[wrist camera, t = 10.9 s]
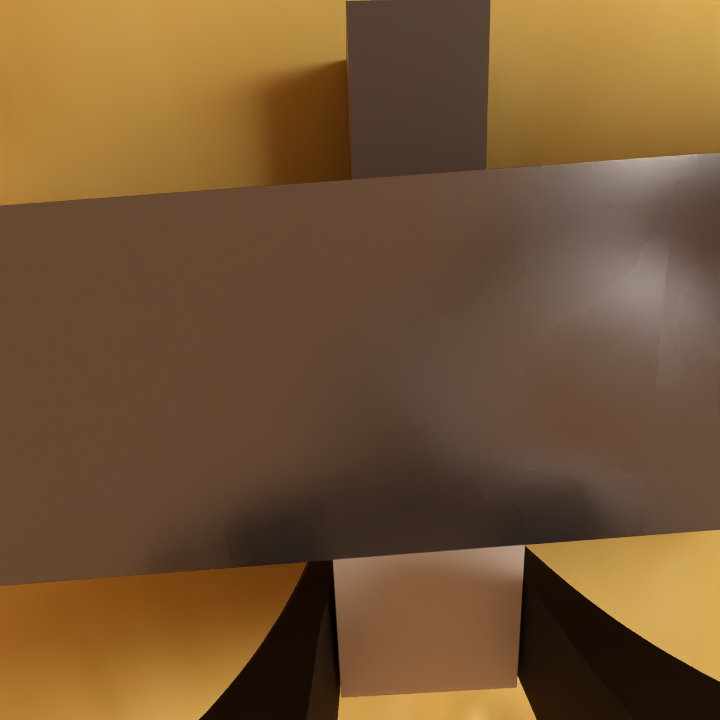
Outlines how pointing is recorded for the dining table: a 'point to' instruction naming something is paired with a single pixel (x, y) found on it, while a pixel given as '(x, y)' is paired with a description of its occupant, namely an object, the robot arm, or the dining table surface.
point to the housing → (359, 368)
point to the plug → (400, 158)
